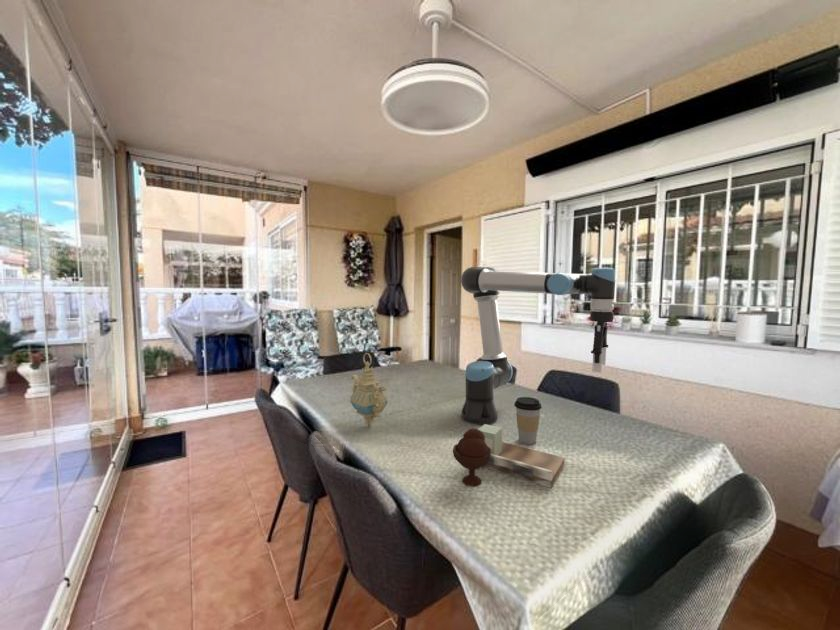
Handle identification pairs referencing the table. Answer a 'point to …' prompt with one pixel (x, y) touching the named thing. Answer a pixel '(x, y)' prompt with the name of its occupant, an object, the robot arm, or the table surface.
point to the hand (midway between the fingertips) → (599, 368)
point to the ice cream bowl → (472, 454)
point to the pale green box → (492, 438)
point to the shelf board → (527, 464)
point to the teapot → (368, 395)
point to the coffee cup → (527, 419)
